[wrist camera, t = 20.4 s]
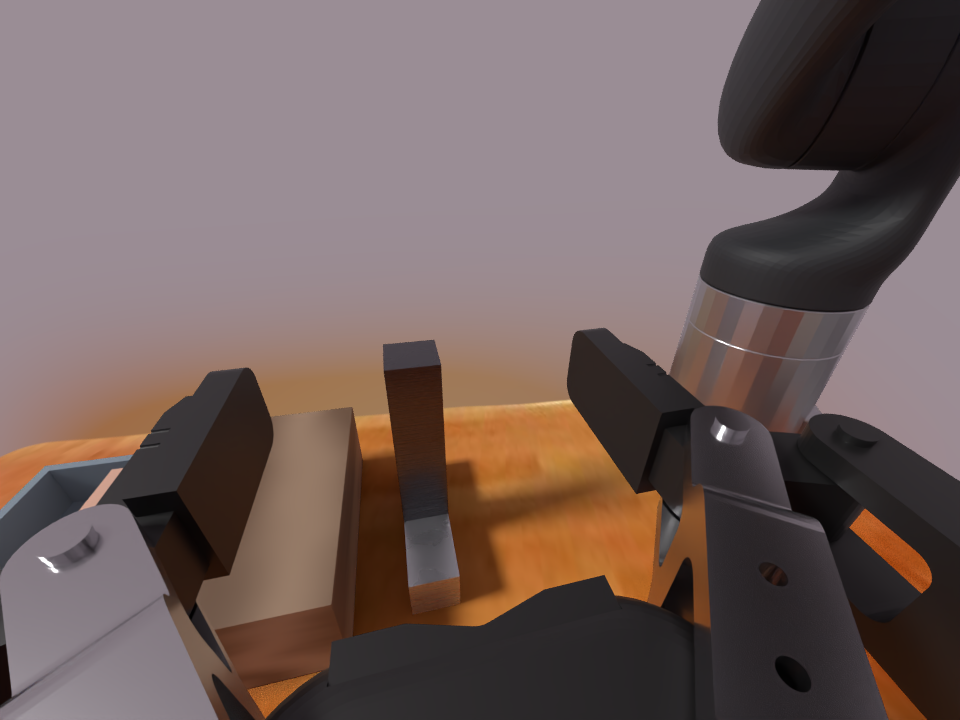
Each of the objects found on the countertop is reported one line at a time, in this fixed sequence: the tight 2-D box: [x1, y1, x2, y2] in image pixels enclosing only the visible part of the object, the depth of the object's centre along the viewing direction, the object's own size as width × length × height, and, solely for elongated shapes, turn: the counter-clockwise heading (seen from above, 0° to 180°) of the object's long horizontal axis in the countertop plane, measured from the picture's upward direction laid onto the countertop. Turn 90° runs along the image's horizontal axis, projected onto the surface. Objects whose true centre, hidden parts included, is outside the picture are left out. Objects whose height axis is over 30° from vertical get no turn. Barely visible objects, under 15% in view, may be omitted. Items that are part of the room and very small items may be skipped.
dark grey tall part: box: [383, 340, 460, 615], centre depth 25 cm, size 3×12×15 cm, turn 13°
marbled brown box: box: [197, 407, 363, 689], centre depth 25 cm, size 12×16×6 cm
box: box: [0, 455, 133, 570], centre depth 24 cm, size 10×16×4 cm, turn 13°
